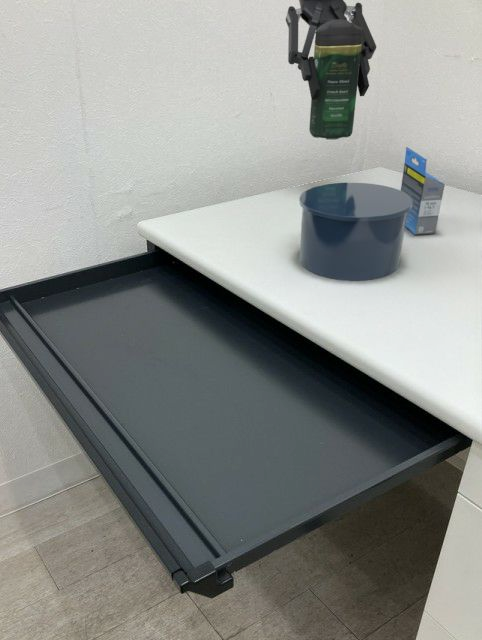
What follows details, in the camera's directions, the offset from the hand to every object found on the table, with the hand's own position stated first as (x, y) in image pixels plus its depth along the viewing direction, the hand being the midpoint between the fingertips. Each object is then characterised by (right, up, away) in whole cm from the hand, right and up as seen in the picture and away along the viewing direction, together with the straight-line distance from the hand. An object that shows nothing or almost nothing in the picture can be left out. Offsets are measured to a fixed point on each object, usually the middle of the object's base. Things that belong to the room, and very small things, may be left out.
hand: (340, 92), depth 104 cm
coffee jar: (0, -5, +7) cm, 9 cm away
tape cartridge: (+13, -24, -1) cm, 27 cm away
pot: (-2, -32, -12) cm, 34 cm away
